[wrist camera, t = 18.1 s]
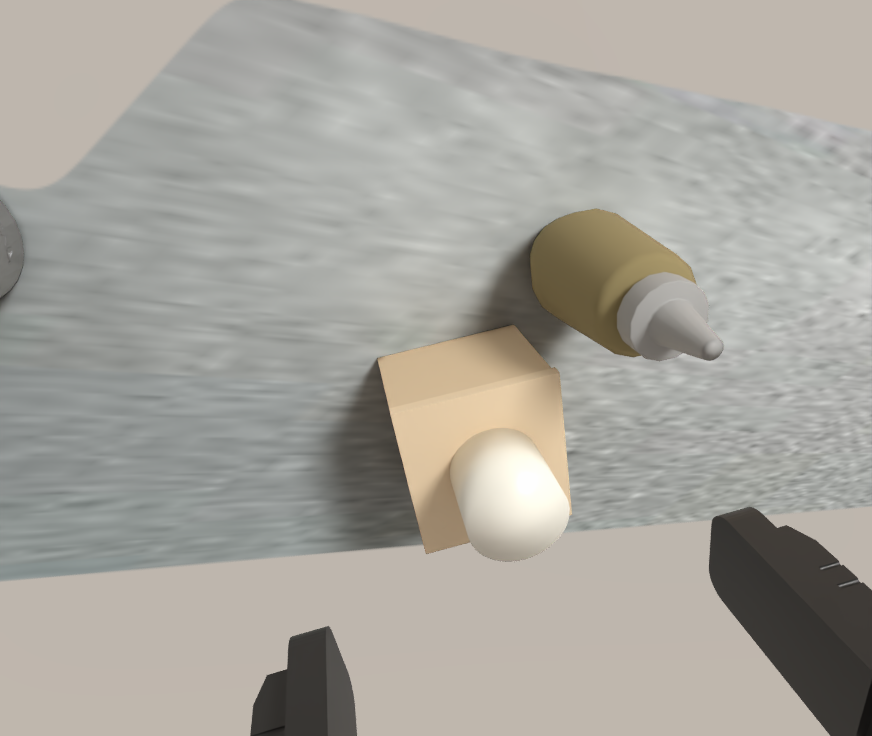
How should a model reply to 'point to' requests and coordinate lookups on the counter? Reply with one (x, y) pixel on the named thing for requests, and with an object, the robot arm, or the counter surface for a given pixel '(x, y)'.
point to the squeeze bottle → (621, 288)
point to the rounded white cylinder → (507, 495)
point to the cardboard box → (458, 365)
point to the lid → (459, 421)
